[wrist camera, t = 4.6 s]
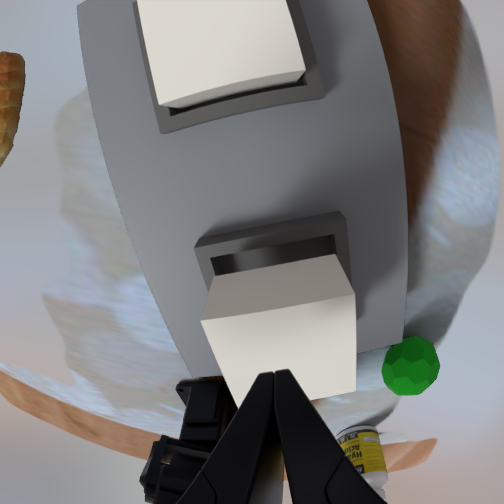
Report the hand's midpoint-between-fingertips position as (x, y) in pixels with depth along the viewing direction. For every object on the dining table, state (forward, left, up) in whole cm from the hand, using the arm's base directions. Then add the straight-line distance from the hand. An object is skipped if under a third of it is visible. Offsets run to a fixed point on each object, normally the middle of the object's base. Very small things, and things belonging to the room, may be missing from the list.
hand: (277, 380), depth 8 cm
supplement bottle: (-27, -5, -12) cm, 29 cm away
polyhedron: (-13, -9, -12) cm, 20 cm away
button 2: (+10, 0, -7) cm, 13 cm away
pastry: (+15, +19, -12) cm, 27 cm away
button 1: (-2, 0, -5) cm, 5 cm away
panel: (+4, 0, -12) cm, 12 cm away
